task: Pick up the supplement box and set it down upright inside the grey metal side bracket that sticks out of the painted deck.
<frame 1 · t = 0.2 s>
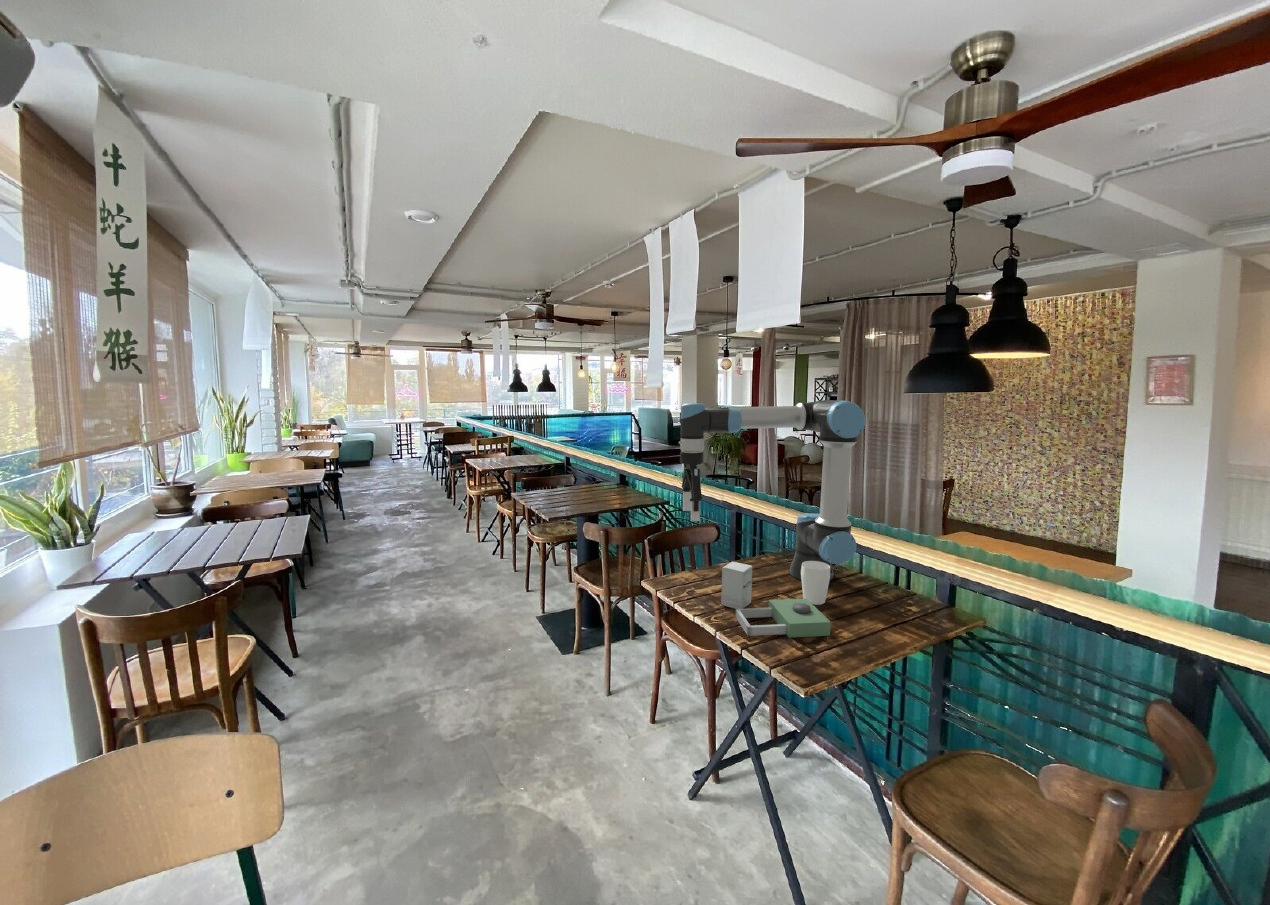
hand: (690, 515, 167), 27 cm above the table, fingers open, 13 cm apart
supplement box: (736, 604, 163), on the table
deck: (797, 623, 150), on the table
cup: (814, 601, 166), on the table
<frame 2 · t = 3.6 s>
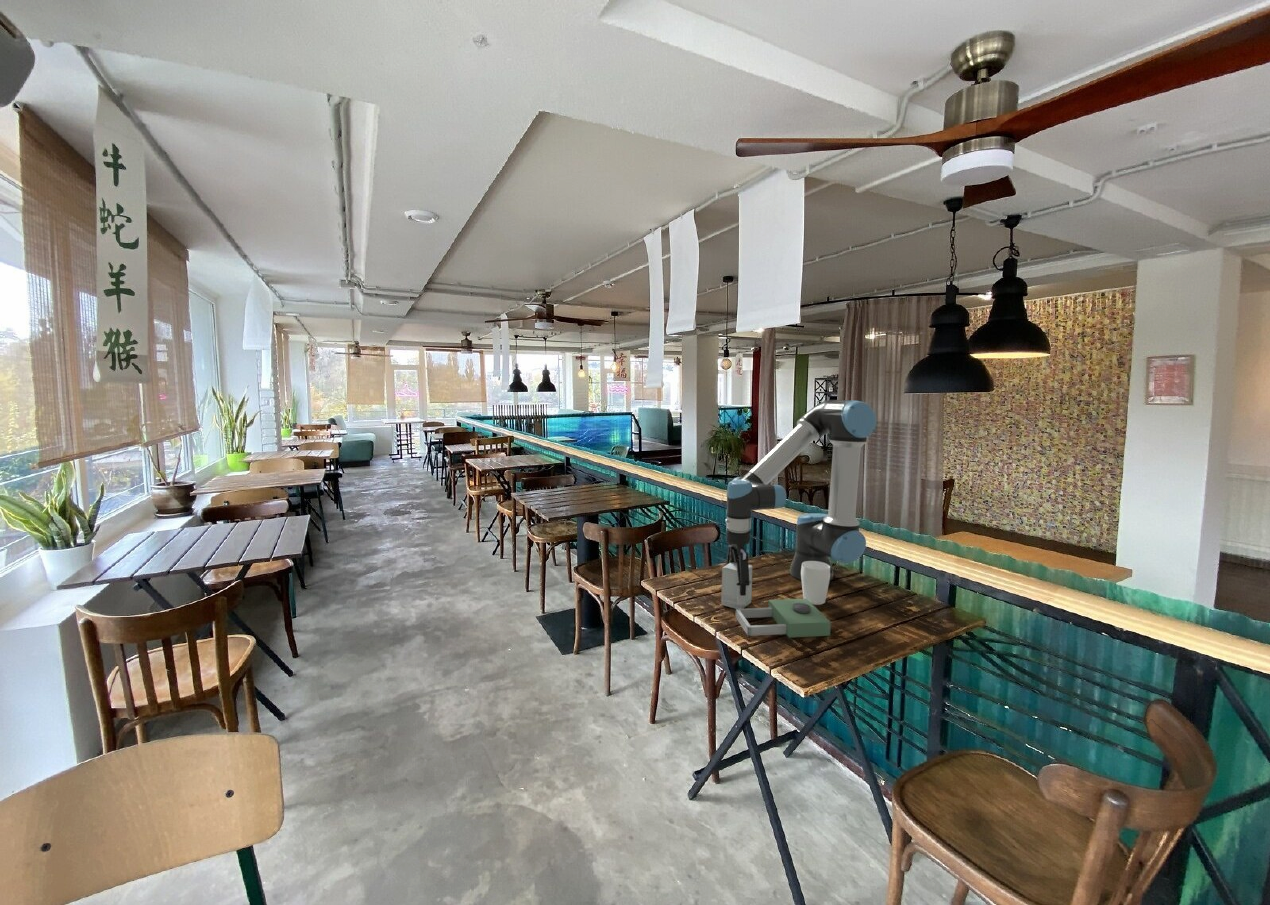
hand: (736, 597, 163), 2 cm above the table, fingers closed on supplement box, 10 cm apart
supplement box: (736, 604, 163), on the table, touching gripper
everything else where it was.
when the fingers open (5 cm above the table, at t = 9.0 s): supplement box drops 1 cm, resting on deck.
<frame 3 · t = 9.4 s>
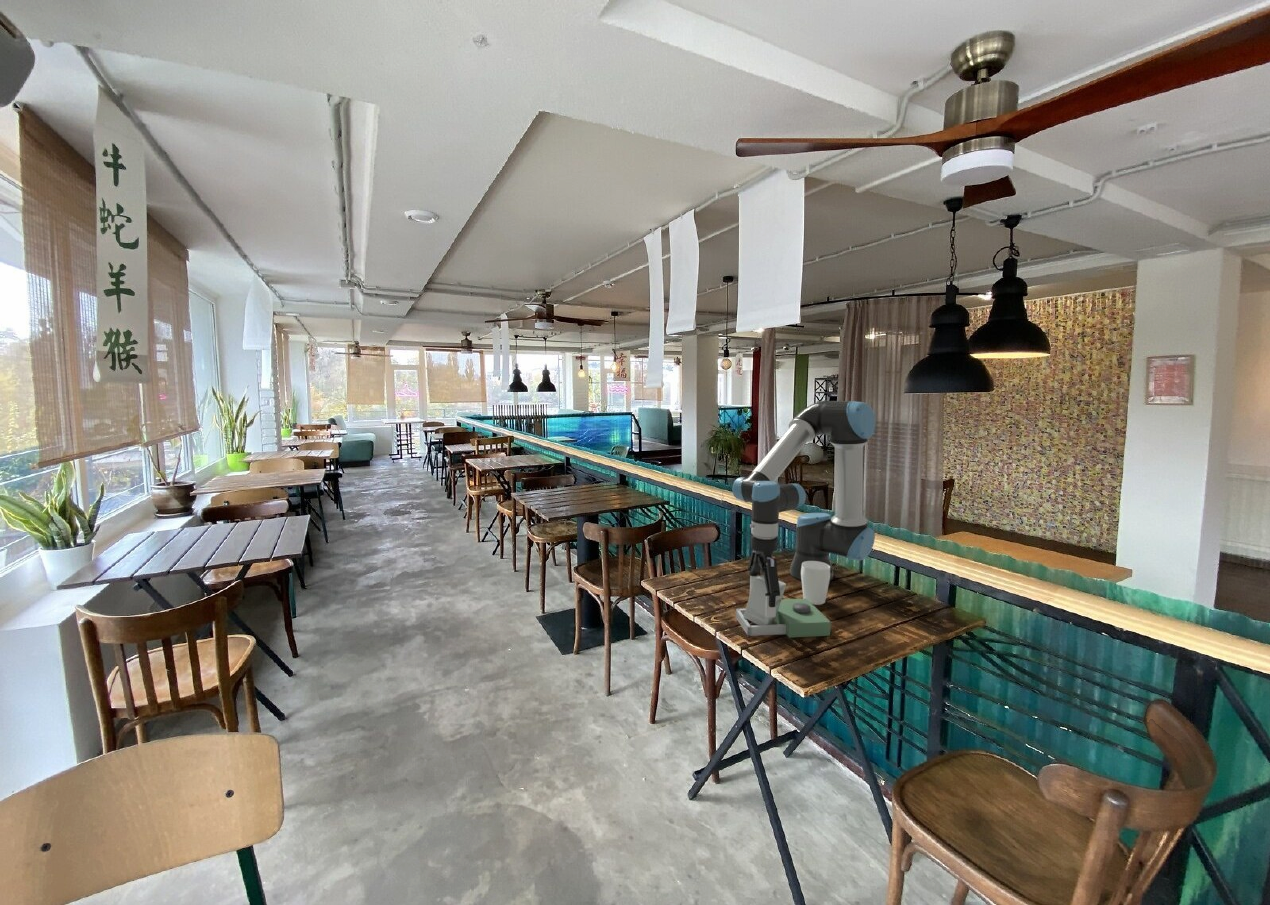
hand: (762, 606, 148), 6 cm above the table, fingers open, 13 cm apart
supplement box: (758, 621, 149), point 1 cm above the table, touching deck
everything else where it was.
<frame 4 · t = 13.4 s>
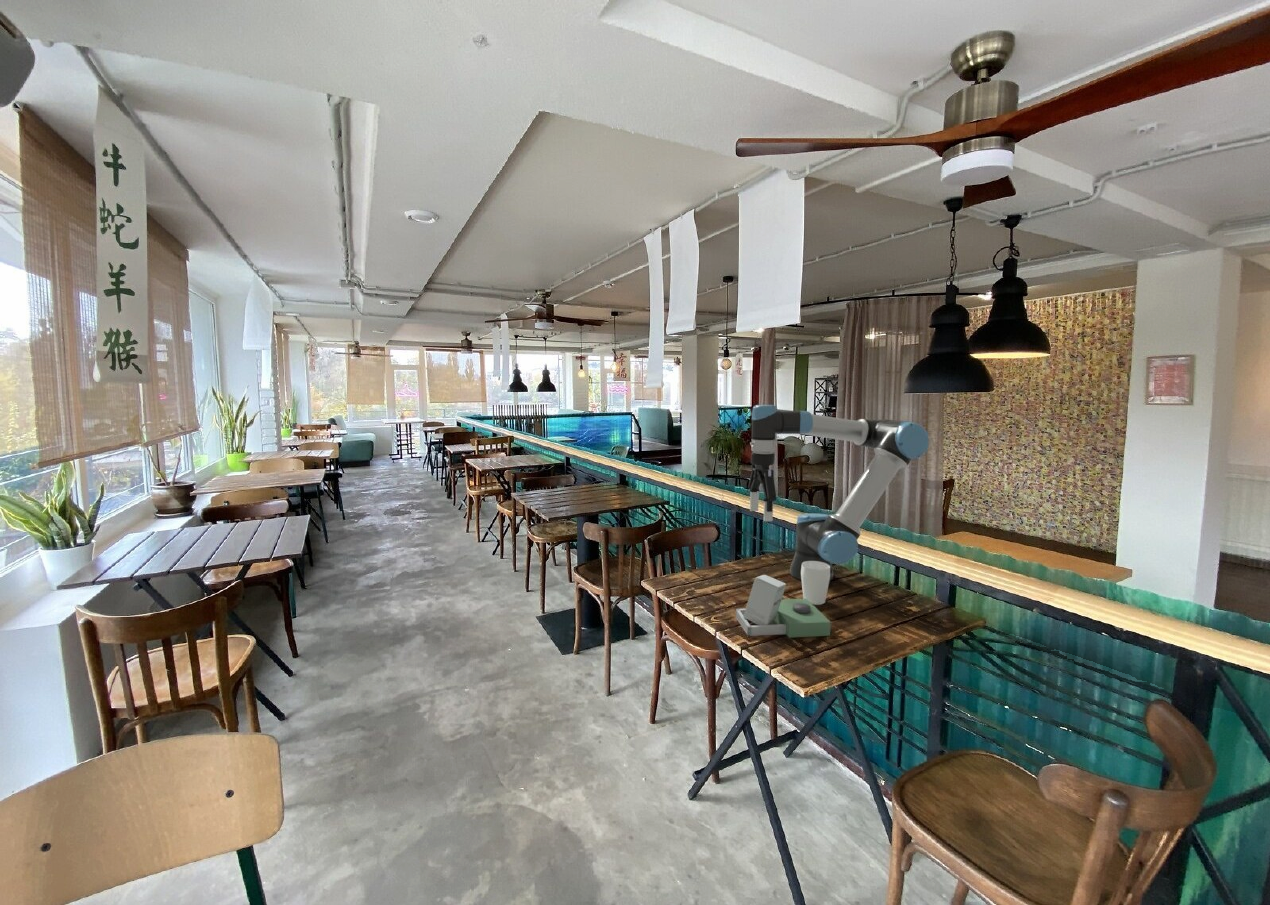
hand: (760, 515, 169), 27 cm above the table, fingers open, 13 cm apart
nothing on the table moved.
at the end: supplement box inside the target area on the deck (0.7 cm from its centre), point 1.2 cm above the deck's base; supplement box tilted 15°; the gripper is holding nothing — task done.
